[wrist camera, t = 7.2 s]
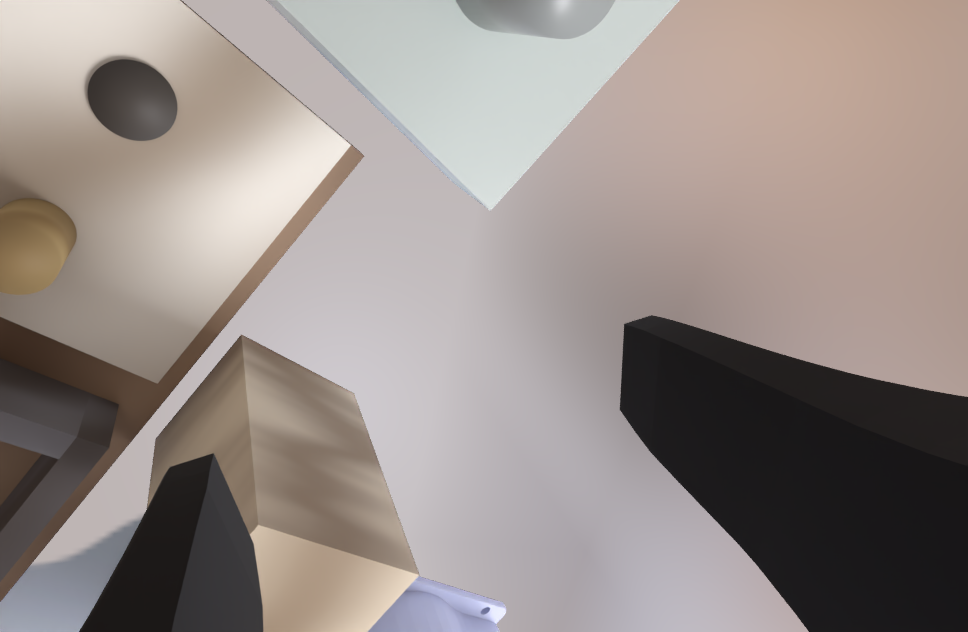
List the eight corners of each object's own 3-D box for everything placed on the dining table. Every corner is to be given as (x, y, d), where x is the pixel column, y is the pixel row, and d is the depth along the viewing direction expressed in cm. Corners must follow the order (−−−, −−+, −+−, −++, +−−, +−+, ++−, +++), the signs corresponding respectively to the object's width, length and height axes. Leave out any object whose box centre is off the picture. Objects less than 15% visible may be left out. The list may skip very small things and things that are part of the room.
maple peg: (353, 393, 20) (419, 574, 14) (276, 483, 21) (305, 699, 14) (241, 334, 18) (258, 525, 11) (155, 438, 18) (125, 678, 12)
